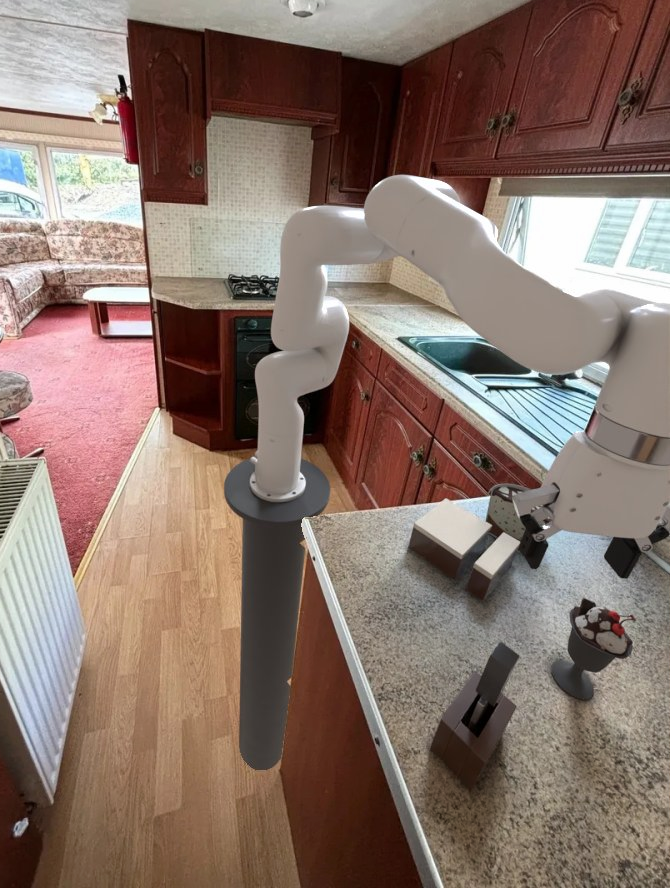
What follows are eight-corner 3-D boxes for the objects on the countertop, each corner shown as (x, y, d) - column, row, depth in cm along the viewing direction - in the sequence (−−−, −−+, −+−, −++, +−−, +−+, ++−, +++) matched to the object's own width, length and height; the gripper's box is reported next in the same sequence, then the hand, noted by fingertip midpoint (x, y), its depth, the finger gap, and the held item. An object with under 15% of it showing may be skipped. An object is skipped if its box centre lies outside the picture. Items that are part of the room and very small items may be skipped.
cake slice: (465, 589, 67) (474, 562, 64) (494, 556, 74) (503, 531, 71) (482, 602, 65) (493, 575, 62) (511, 567, 72) (521, 541, 69)
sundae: (605, 718, 51) (657, 640, 44) (544, 688, 53) (585, 611, 47) (598, 671, 56) (644, 596, 50) (543, 645, 59) (580, 571, 53)
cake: (408, 547, 74) (414, 522, 72) (439, 521, 81) (445, 498, 79) (454, 581, 68) (462, 555, 66) (483, 549, 75) (492, 525, 73)
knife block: (429, 748, 47) (440, 718, 44) (463, 699, 52) (474, 670, 49) (470, 792, 43) (485, 763, 41) (502, 735, 48) (517, 705, 46)
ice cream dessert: (554, 550, 76) (573, 508, 72) (541, 566, 72) (560, 523, 68) (491, 513, 84) (504, 474, 80) (476, 525, 81) (489, 485, 77)
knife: (450, 747, 47) (486, 660, 40) (466, 721, 49) (503, 635, 43) (466, 763, 45) (506, 677, 39) (482, 736, 48) (522, 650, 41)
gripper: (693, 424, 42) (626, 546, 49) (524, 409, 43) (482, 532, 50) (764, 466, 35) (674, 601, 42) (562, 447, 36) (507, 583, 43)
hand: (571, 563), depth 46 cm, fingers open, 9 cm apart
